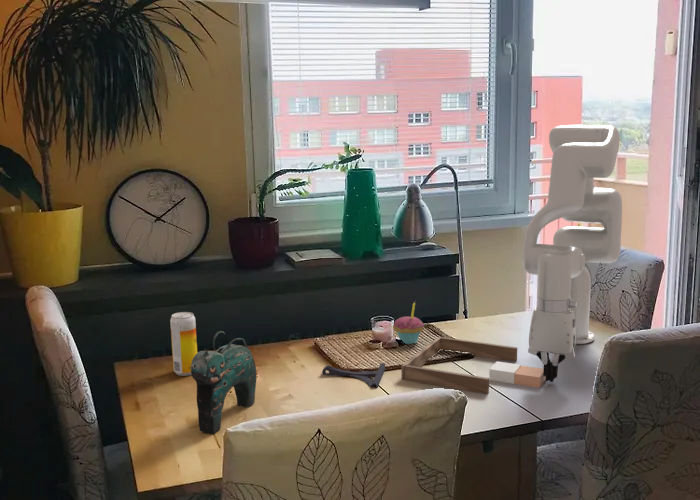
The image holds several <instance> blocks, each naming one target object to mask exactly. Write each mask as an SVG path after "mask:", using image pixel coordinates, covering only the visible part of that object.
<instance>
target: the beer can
mask: <svg viewBox="0 0 700 500" xmlns="http://www.w3.org/2000/svg"><path fill="white" fill-rule="evenodd" d="M169 321H170V337H171V338H170V339H171V351H172V352H171V353H172V366H173V367H172V369H173V372H174V373H175V375H177V376H180V377H181V376H183V377H185V376H192V375H191V364H192V360H193V358H194V356H195V355H196V354H197V353H198V343H197V341H198V340H197V327H196V326H197V323H196V317H195V315H194V313H193V312H191V311H190V312H189V311H181V312H179V311H178V312H175V313H173V314H171V317H170V320H169Z"/></svg>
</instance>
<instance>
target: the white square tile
mask: <svg viewBox="0 0 700 500" xmlns="http://www.w3.org/2000/svg"><path fill="white" fill-rule="evenodd" d="M520 366H522V364H518V363H510V362H505V361H495V363H493V365H492V366H491V367H490V368H489V370H488V371H489V373H488V375H489V377H488V378H489V381H493V382H500V383H507V384H512V385H515V384H514V373H515V372H516V371H517V370H518V369H519V368H520Z"/></svg>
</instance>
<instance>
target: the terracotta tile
mask: <svg viewBox="0 0 700 500" xmlns="http://www.w3.org/2000/svg"><path fill="white" fill-rule="evenodd" d="M543 371H544V368H539V367H533V366H525V365H521V366H520V368H519V369H518V370H517V371H516V372H515V373H514V384H513V385H520V386H525V387H526V386H527V387H533V388H538V389H540V388H541V387H542V385H543V384H544V382H546V381H545V379H546V376H543Z"/></svg>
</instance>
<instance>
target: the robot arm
mask: <svg viewBox="0 0 700 500" xmlns="http://www.w3.org/2000/svg"><path fill="white" fill-rule="evenodd" d="M620 137H621V135H620V132H619V130H618V129H617V128H616V127H615V126H614V125H609V124H606V125H604V124H603V125H602V124H601V125H600V124H597V125H596V124H593V125H591V124H590V125H587V124H584V125H583V124H567V125H565V124H564V125H558V126H555V127H553V128H552V129H550V132H549V135H548V143H549V147H550V150H551V152H552V153H553V154H552V158H551V167H550V178H549V187H548V195H547V201H546V203H545V204H544V206H543V207H542V208H540V210H538V211H537V212H536V213H535V214H534V216H533V217H532V219H531V220H530V222H529V223H528V225H527V228H526V231H525V236H524V240H523V241H524V242H523V249H522V267H523V270H524V271H525V272H526V273H528V274H530V275H534V276H537V278H536V279H537V281H536V306H535V307H534V308H533V309H532V310H533V311H532V313H531V314H532V315H531V319H530V326H529V334H528V335H529V336H528V350H527V353H529V354H530V355H533V356H536V357H537V358H539V360H540V361H541V363H542V365H543V369H544V371H543V376H546V379H545V381H544V382H550V383H553V382H554V380H556V379H557V378H558V372H559V371H558V370H559V364H560V363H561V362H563V361H565V360H574V359H575V357H576V354H575V350H574V349H575V348H576V345H585V344H588V343H591V342H593V341H594V340H595V334H594V333H593V332H592V331H590V330H589V328H590V327H589V326H590V309H591V291H592V290H591V286H592V285H591V284H592V278H591V277H592V276H591V274H590V271H589V270H588V268H587V267H586V263H596V264H612V263H616V261H617V260H619V257H620V255H621V253H620V252H621V247H622V246H621V245H622V226H623V225H622V223H623V221H622V220H623V201H622V196H621V193H620V192H619V191H618V190H617V189H614V188H612V187H611V188H608V187H595V186H594V178H596V179H597V178H599V179H600V178H601V179H602V178H603V179H605V178H609V177H610V176H611V175H612V173H613V172H614V169H615V166H616V164H617V163H616V162H617V158H618V153H619V150H620V144H621V143H620V141H621V138H620ZM559 219H563V220H564V221H567V222H571V223H581V224H582V223H583V224H600V225H602V227H591V226H590V227H589V226H575V225H573V226H571V225H570V226H564V227H561V228H558V229H557V230H556V231H555V233H554V235H553V238H552V239H553V240H552V241H553V242H552V244H546V243H537V242H538V237H539V235H540V233H541V231H542V230H543V229H544V228H545V227H546V226H547V225H549V224H550V223H552V222H554V221H556V220H559ZM550 354H553V358H552V361H551V359H550Z"/></svg>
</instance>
